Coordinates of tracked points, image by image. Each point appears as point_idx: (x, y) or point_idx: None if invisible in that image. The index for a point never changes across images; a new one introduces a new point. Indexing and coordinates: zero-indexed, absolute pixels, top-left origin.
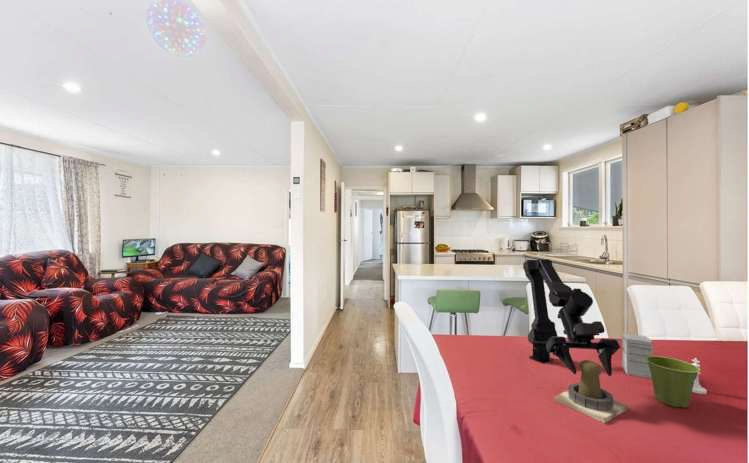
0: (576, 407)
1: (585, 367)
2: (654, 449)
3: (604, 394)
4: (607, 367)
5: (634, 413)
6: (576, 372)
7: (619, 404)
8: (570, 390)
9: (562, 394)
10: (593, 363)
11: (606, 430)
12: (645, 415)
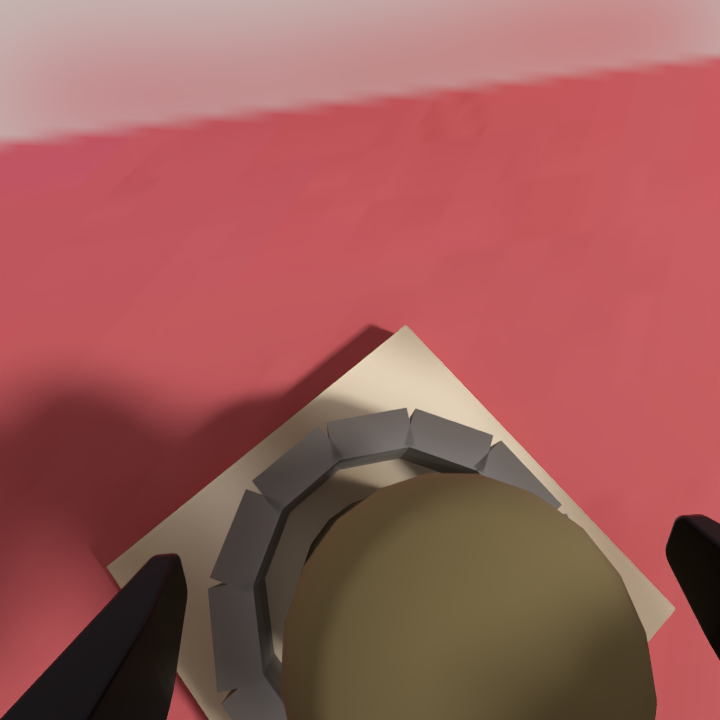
0: (533, 461)
1: (589, 537)
2: (264, 150)
3: (259, 617)
4: (135, 671)
5: (106, 512)
6: (682, 516)
7: None
8: None
9: None
10: (447, 602)
11: (423, 266)
12: (40, 496)
